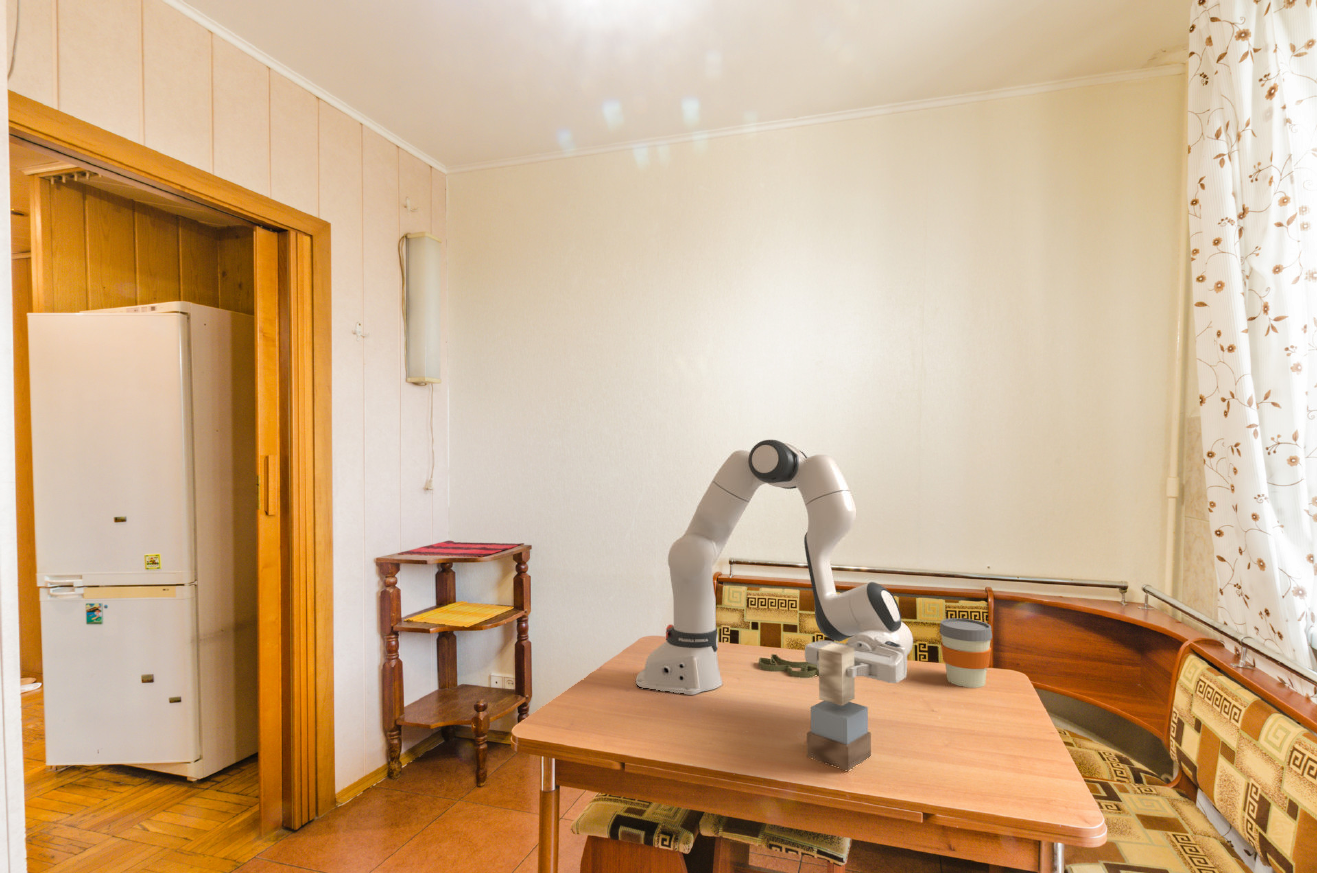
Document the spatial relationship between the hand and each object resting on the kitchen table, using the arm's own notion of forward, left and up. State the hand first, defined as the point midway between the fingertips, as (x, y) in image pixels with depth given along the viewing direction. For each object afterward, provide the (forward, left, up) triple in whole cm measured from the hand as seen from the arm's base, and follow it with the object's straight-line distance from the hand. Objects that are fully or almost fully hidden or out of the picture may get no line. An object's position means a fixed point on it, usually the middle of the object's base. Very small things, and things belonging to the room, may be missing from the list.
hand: (834, 669), depth 133 cm
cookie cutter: (-7, +54, -18) cm, 57 cm away
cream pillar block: (+1, +1, -6) cm, 6 cm away
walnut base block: (+1, +1, -18) cm, 18 cm away
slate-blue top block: (+1, +1, -13) cm, 13 cm away
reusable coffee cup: (+38, +51, -18) cm, 66 cm away
